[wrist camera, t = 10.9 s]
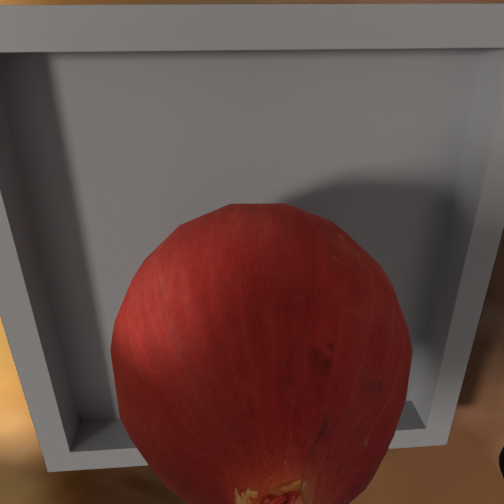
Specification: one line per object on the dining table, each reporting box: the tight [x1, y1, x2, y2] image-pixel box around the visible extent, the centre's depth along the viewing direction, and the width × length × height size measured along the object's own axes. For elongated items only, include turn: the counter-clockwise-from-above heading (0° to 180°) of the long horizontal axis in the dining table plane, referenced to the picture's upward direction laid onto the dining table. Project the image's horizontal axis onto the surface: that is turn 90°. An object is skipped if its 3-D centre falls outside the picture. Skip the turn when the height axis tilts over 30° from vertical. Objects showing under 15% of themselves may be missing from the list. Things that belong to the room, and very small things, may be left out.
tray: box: [0, 4, 504, 472], centre depth 12 cm, size 13×13×2 cm
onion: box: [110, 203, 413, 504], centre depth 9 cm, size 6×6×8 cm
